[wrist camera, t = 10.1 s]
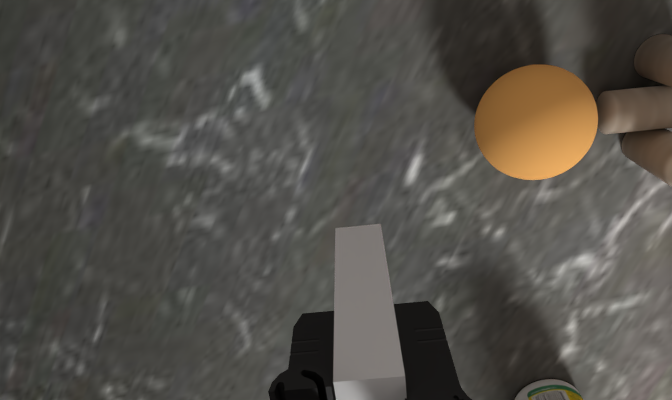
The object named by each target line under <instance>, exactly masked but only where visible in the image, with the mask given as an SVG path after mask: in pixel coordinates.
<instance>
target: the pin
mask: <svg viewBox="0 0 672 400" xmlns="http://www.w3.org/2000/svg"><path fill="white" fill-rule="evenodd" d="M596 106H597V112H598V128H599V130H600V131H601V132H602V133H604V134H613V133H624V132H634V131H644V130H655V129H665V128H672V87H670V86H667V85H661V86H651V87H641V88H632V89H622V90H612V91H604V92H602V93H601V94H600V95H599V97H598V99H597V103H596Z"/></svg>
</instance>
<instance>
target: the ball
mask: <svg viewBox="0 0 672 400" xmlns="http://www.w3.org/2000/svg"><path fill="white" fill-rule="evenodd" d="M597 126H598V112H597V106H596V103H595V100H594V97H593V95H592V93H591V92H590V90H589V89H588V87H587V86H586V85H585V84H584V82H583V81H582V80H581V79H579V78H578V77H577V76H576V75H574V74H573V73H571V72H569V71H567V70H565V69H563V68H560V67H556V66H552V65H528V66H523V67H520V68H517V69H514V70H512V71H510V72H508V73H506V74H504V75H503V76H501V77H500V78H499V79H497V80H496V81H495V82H494V83H493V84H492V85H491V86H490V87H489V88H488V89H487V91H486V92H485V93H484V95H483V97H482V99H481V101H480V103H479V105H478V107H477V111H476V115H475V125H474V128H475V137H476V140H477V143H478V146H479V148H480V150H481V152H482V154H483V155H484V157H485V158H486V159H487V160H488V161H489V163H490V164H491V165H493V166H494V167H495V168H496V169H498V170H499V171H501V172H503V173H505V174H507V175H509V176H512V177H515V178H520V179H525V180H540V179H546V178H550V177H554V176H556V175H559V174H561V173H563V172H565V171H567V170H568V169H570V168H572V167H573V166H574V165H575V164H576V163H578V162H579V161H580V160H581V159H582V158H583V156H584V155H585V154H586V153H587V151H588V150H589V148H590V147H591V145H592V143H593V140H594V138H595V135H596V131H597Z"/></svg>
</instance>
